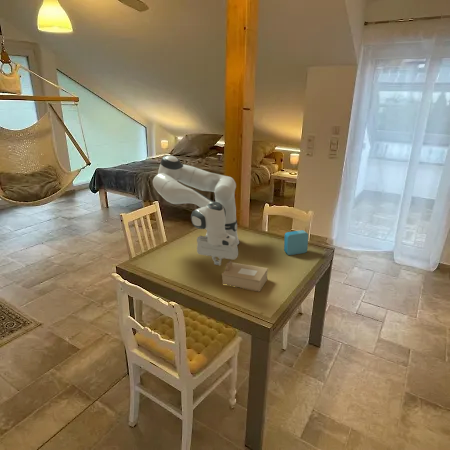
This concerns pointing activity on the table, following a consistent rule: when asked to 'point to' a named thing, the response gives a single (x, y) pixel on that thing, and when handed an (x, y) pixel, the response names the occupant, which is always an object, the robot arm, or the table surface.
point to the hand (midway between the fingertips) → (217, 264)
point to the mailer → (245, 282)
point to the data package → (296, 242)
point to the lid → (244, 271)
